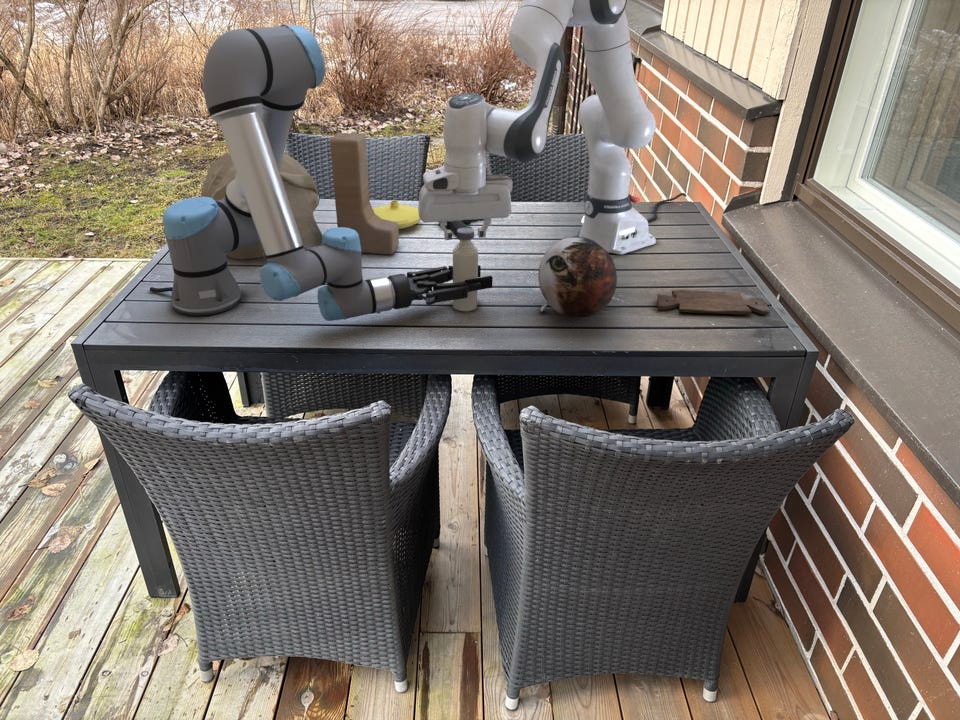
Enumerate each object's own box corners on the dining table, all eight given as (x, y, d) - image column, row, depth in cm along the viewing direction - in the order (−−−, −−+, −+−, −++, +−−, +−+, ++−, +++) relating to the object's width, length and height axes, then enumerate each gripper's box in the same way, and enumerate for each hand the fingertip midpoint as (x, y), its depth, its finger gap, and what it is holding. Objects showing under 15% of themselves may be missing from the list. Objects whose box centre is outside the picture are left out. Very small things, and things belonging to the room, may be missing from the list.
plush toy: (515, 268, 172) (574, 208, 164) (568, 314, 177) (628, 258, 168) (511, 307, 153) (577, 241, 144) (571, 357, 157) (638, 296, 149)
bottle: (476, 311, 164) (478, 237, 155) (452, 311, 164) (451, 236, 155) (477, 300, 169) (478, 228, 160) (453, 300, 169) (453, 227, 160)
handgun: (453, 229, 202) (431, 211, 213) (453, 239, 203) (431, 221, 214) (503, 222, 208) (480, 205, 219) (502, 231, 210) (479, 214, 221)
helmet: (337, 253, 194) (330, 140, 179) (228, 274, 179) (210, 153, 164) (298, 224, 213) (288, 120, 198) (196, 241, 198) (178, 130, 183)
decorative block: (393, 255, 191) (387, 142, 176) (339, 251, 193) (328, 139, 178) (399, 245, 198) (394, 134, 183) (347, 241, 200) (337, 132, 184)
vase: (376, 214, 219) (375, 191, 216) (426, 217, 218) (426, 194, 214) (362, 232, 206) (360, 208, 202) (415, 235, 204) (415, 212, 201)
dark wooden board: (652, 295, 173) (658, 314, 165) (653, 289, 172) (659, 307, 164) (760, 298, 172) (772, 317, 163) (761, 291, 171) (774, 310, 162)
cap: (476, 235, 159) (476, 228, 158) (471, 241, 156) (471, 234, 155) (460, 233, 160) (460, 226, 159) (454, 239, 157) (454, 232, 156)
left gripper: (378, 291, 166) (469, 275, 174) (405, 326, 151) (503, 307, 160) (376, 261, 162) (469, 246, 171) (403, 294, 147) (504, 276, 156)
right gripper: (509, 169, 156) (506, 230, 163) (415, 174, 152) (417, 235, 159) (516, 178, 150) (514, 240, 158) (420, 182, 147) (422, 246, 154)
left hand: (485, 276), depth 165 cm, fingers closed on bottle, 6 cm apart
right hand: (464, 237), depth 158 cm, fingers open, 6 cm apart
